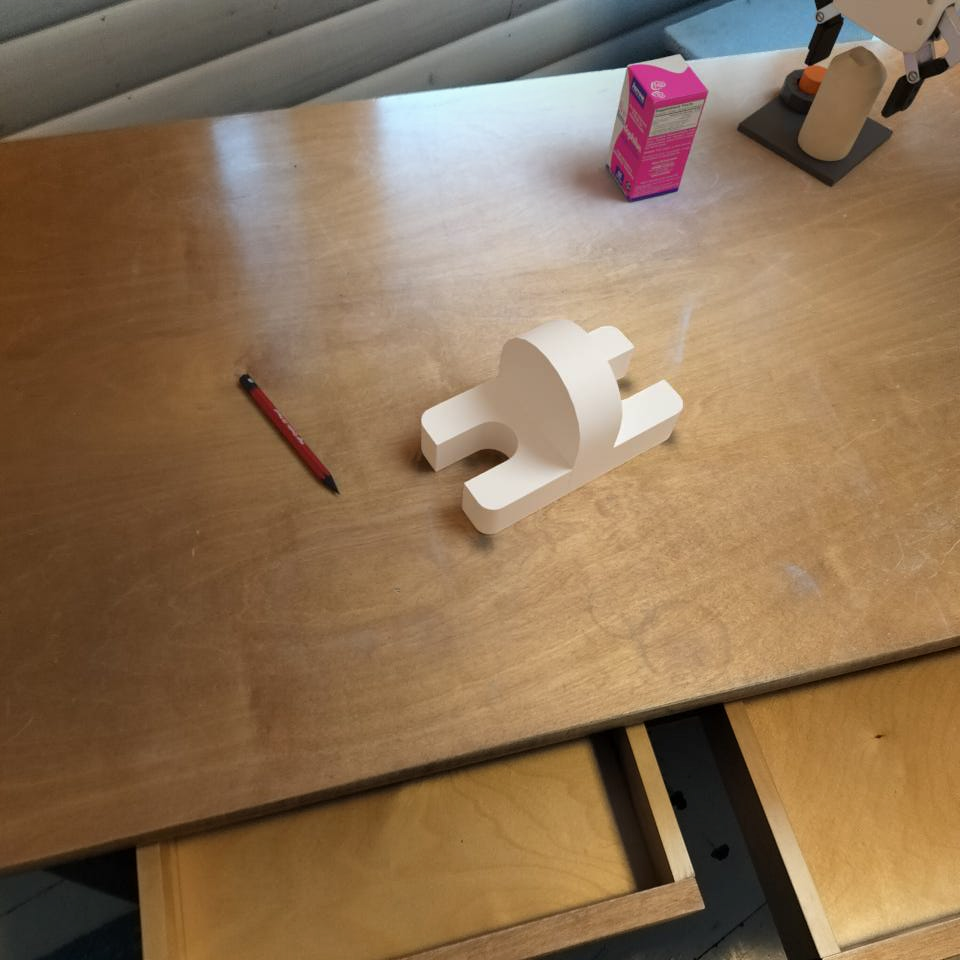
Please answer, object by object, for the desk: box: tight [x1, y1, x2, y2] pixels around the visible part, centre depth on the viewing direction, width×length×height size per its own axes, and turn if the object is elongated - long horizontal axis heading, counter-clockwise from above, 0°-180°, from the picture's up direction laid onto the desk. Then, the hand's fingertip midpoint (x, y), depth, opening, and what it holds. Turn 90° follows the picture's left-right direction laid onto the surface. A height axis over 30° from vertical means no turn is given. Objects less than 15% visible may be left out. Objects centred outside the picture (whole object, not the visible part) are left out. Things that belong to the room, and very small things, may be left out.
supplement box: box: [605, 53, 709, 203], centre depth 81 cm, size 6×6×12 cm
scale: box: [736, 68, 894, 188], centre depth 91 cm, size 12×12×2 cm
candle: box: [798, 45, 888, 161], centre depth 85 cm, size 6×6×10 cm
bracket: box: [420, 317, 684, 535], centre depth 64 cm, size 19×10×11 cm, turn 123°
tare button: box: [799, 64, 828, 96], centre depth 92 cm, size 3×3×2 cm
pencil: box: [238, 373, 341, 496], centre depth 67 cm, size 1×14×1 cm, turn 39°
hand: (853, 86), depth 84 cm, fingers open, 9 cm apart
